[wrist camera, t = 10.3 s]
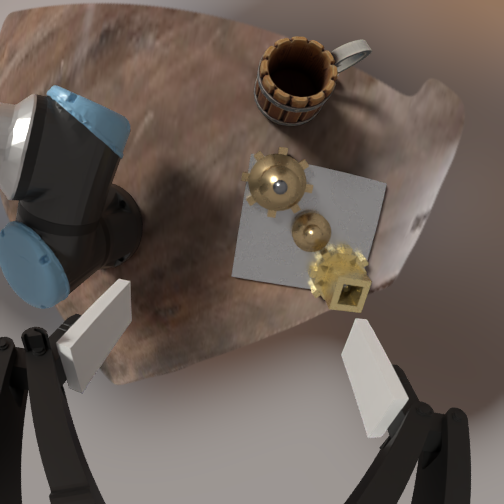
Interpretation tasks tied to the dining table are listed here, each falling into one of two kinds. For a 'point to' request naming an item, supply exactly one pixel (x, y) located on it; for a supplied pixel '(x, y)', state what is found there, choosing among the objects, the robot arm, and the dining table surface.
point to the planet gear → (341, 279)
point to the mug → (301, 77)
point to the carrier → (301, 218)
